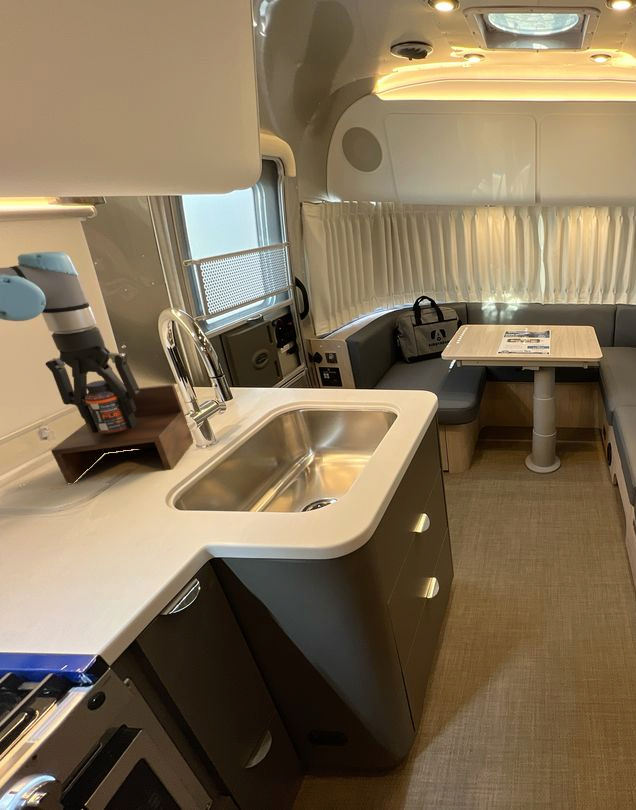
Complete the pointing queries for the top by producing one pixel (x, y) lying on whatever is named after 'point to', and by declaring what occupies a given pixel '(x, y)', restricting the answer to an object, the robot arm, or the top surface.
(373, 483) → the top surface
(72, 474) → the shelf
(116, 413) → the supplement bottle
